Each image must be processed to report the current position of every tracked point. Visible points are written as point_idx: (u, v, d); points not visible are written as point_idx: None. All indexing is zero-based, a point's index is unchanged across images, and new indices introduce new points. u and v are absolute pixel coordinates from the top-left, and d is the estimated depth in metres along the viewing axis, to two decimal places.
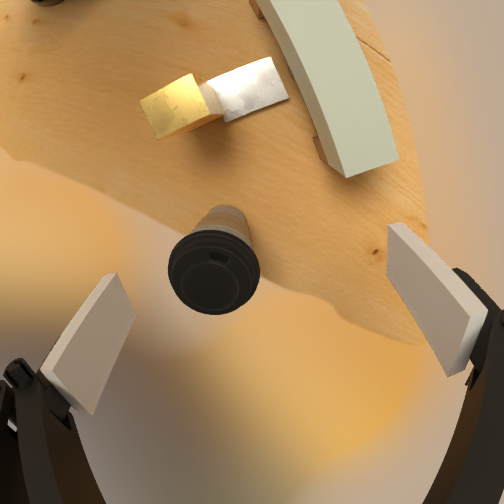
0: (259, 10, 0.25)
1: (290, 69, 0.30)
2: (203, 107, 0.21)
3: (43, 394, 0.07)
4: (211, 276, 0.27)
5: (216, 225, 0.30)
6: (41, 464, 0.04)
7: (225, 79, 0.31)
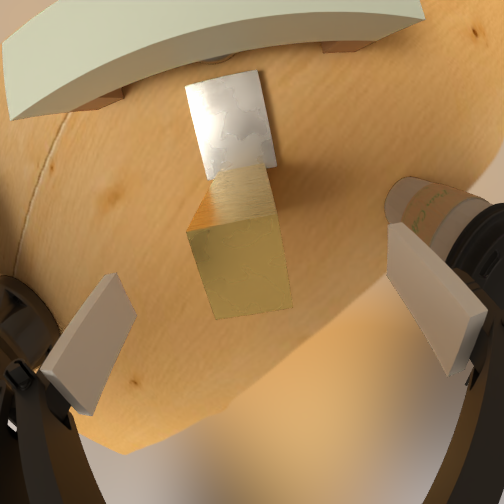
0: (107, 96, 0.18)
1: (211, 60, 0.19)
2: (261, 223, 0.12)
3: (43, 394, 0.07)
4: (498, 280, 0.13)
5: (433, 237, 0.17)
6: (41, 464, 0.04)
7: (210, 153, 0.23)
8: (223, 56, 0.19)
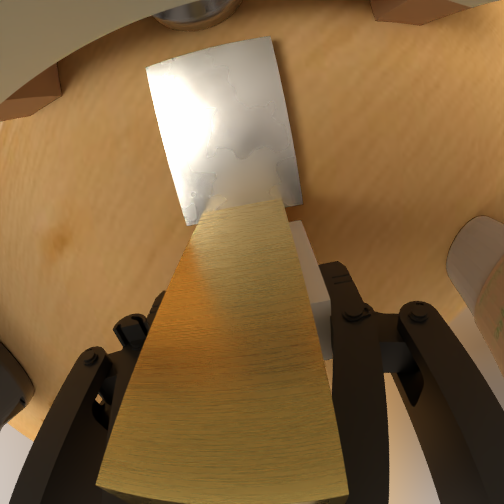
0: (25, 96, 0.09)
1: (189, 21, 0.10)
2: None
3: None
4: None
5: None
6: None
7: (189, 181, 0.14)
8: (210, 13, 0.09)
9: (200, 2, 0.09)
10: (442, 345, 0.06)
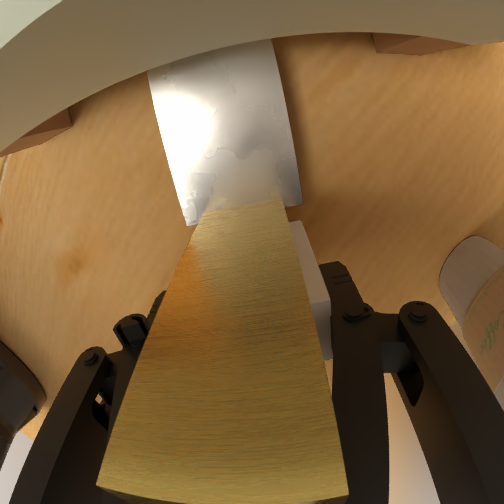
0: (38, 131, 0.11)
1: None
2: None
3: None
4: None
5: None
6: None
7: (189, 181, 0.14)
8: None
9: None
10: (442, 345, 0.06)
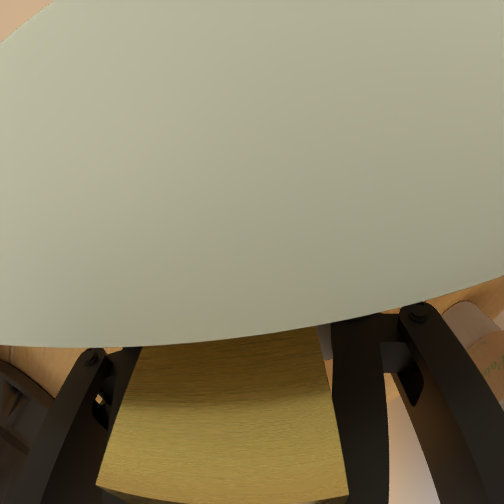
0: None
1: None
2: None
3: None
4: None
5: None
6: None
7: None
8: None
9: None
10: (442, 345, 0.06)
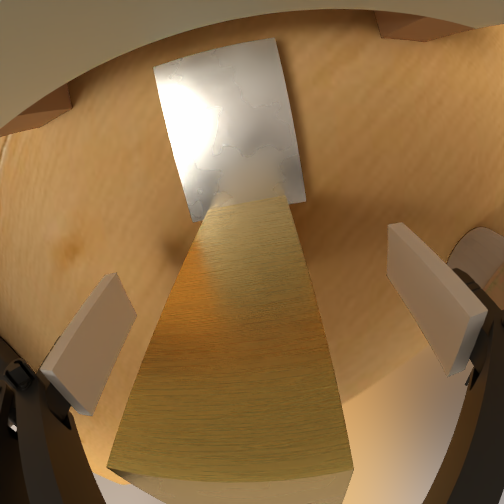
0: (37, 110, 0.10)
1: None
2: (303, 482, 0.03)
3: (43, 394, 0.07)
4: None
5: None
6: (41, 464, 0.04)
7: (195, 178, 0.14)
8: None
9: None
10: None
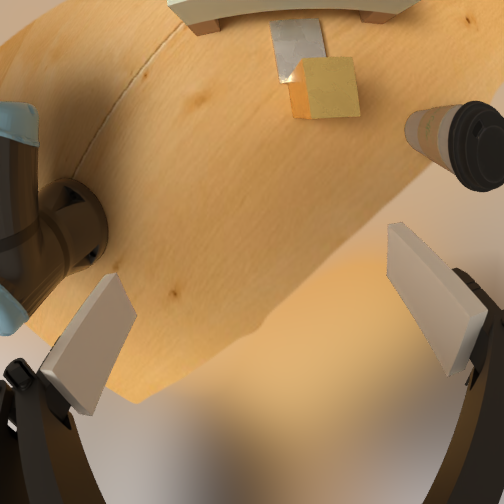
0: (216, 22, 0.24)
1: None
2: (344, 60, 0.18)
3: (43, 394, 0.07)
4: (488, 146, 0.18)
5: (440, 125, 0.22)
6: (40, 464, 0.04)
7: (283, 65, 0.28)
8: None
9: None
10: None
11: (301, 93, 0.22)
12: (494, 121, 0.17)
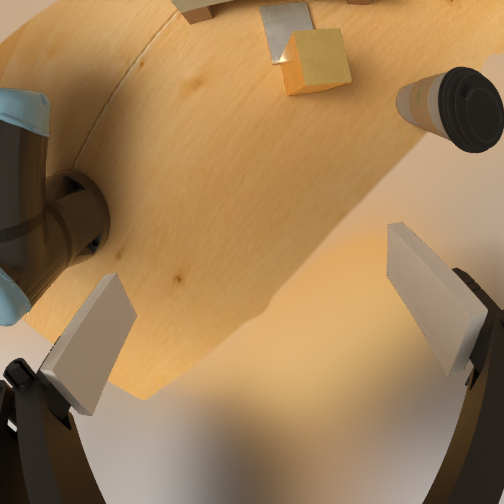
0: (208, 9, 0.24)
1: None
2: (332, 31, 0.18)
3: (43, 394, 0.07)
4: (477, 107, 0.18)
5: (429, 91, 0.22)
6: (40, 464, 0.04)
7: (275, 46, 0.28)
8: None
9: None
10: None
11: (294, 66, 0.22)
12: (481, 84, 0.17)
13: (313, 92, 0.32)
